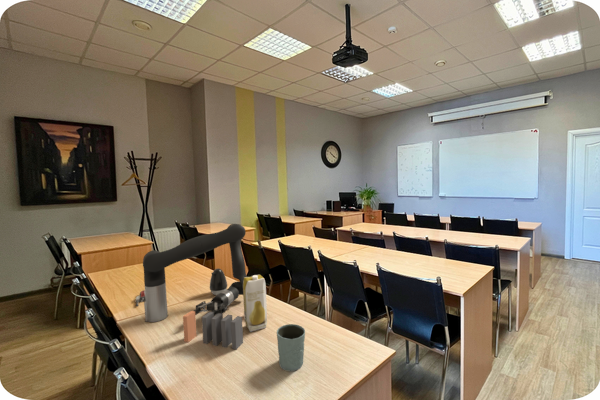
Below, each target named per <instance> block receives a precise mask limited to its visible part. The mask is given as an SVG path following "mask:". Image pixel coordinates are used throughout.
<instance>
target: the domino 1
mask: <svg viewBox="0 0 600 400" xmlns="http://www.w3.org/2000/svg"><path fill="white" fill-rule="evenodd" d="M196 318H197V317H196V315H195V311H194V310H190V311H189V312H186V314H184V315H183V316H182V323H183V341H184V343H190V342H191V341H192V340H194V339H195V338H196V337H197V321H196Z"/></svg>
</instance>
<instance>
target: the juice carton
mask: <svg viewBox="0 0 600 400" xmlns="http://www.w3.org/2000/svg"><path fill="white" fill-rule="evenodd" d="M266 285H267V284H266V280H265V278H264V277H263V276H262V275H261V274H254V275H251V276H247V277H244V281H243V295H242V297H243V315H244V317H243V318H244V323H245V326H246V328H247V329H248V331H249V332H250V333H252V332H255V331H258V330H263V329H265V328H267V325H268V324H267V323H268V310H267V309H268V306H267V288H266V287H267V286H266Z"/></svg>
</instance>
